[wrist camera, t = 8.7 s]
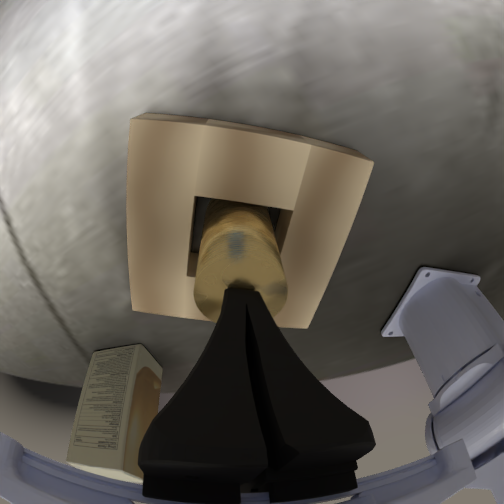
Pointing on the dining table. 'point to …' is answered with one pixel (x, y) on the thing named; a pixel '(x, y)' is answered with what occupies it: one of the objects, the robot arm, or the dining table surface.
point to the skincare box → (115, 412)
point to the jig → (241, 190)
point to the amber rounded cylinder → (238, 257)
